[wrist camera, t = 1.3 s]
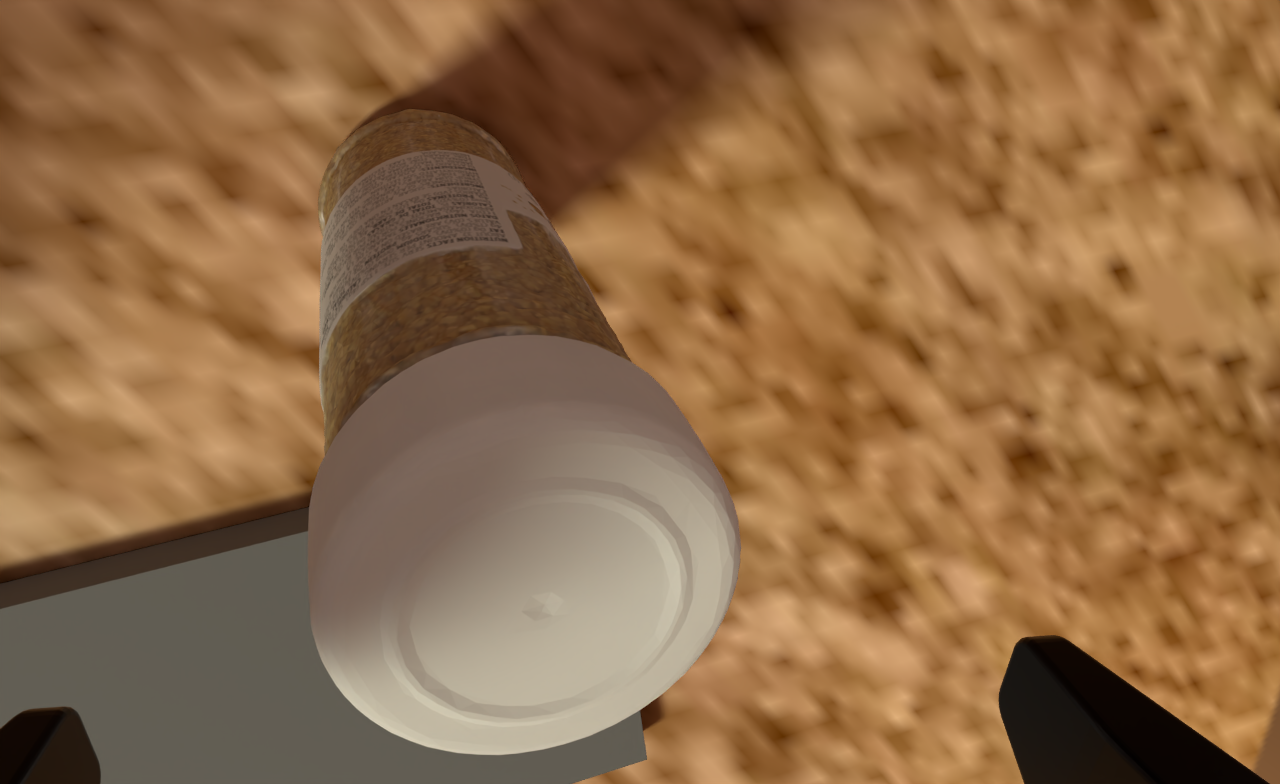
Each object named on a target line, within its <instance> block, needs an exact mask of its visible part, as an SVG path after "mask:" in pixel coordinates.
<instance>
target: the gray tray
mask: <svg viewBox="0 0 1280 784" xmlns="http://www.w3.org/2000/svg"><path fill="white" fill-rule="evenodd" d="M308 524H309V507H307V508H303V509H299V510H295V511H291V512H287V513H283V514H279V515H275V516H271V517H267V518H263V519H259V520H255V521H251V522H247V523H243V524H239V525H235V526H231V527H227V528H223V529H219V530H215V531H211V532H207V533H203V534H199V535H195V536H191V537H187V538H183V539H179V540H175V541H171V542H167V543H163V544H158V545H154V546H150V547H146V548H142V549H138V550H134V551H130V552H126V553H122V554H118V555H114V556H110V557H106V558H102V559H98V560H94V561H90V562H86V563H82V564H78V565H74V566H70V567H66V568H62V569H58V570H54V571H50V572H46V573H42V574H38V575H34V576H30V577H26V578H22V579H18V580H14V581H10V582H6V583H2V584H0V728H1V727H2V726H4V725H5V724H6V723H7V722H8V721H9V720H10V719H12V718H13V717H14V716H16V715H17V714H19V713H21V712H22V711H25V710H28V709H35V708H49V707H63V706H66V707H71V708H73V709H74V710H76V711H77V712H78V714H79V715H80V717H81V720H82V722H83V724H84V727H85V729H86V732H87V734H88V736H89V739H90V741H91V744H92V746H93V748H94V751H95V753H96V755H97V758H98V760H99V764H100V769H101V783H100V784H572V783H575V782H579V781H582V780H585V779H588V778H591V777H594V776H597V775H600V774H603V773H606V772H609V771H613V770H616V769H619V768H622V767H625V766H628V765H631V764H634V763H637V762H640V761H644V760H647V756H646V749H645V742H644V735H643V728H642V721H641V715H640V710H639V711H638V712H636V713H634V714H633V715H631V716H629V717H627V718H626V719H624V720H622V721H620V722H619V723H617V724H615V725H613V726H611V727H608V728H606V729H604V730H602V731H600V732H597V733H595V734H593V735H591V736H588V737H585V738H582V739H579V740H576V741H573V742H570V743H567V744H563V745H559V746H555V747H551V748H547V749H543V750H536V751H530V752H524V753H517V754H505V755H477V754H464V753H455V752H450V751H445V750H440V749H435V748H430V747H426V746H423V745H420V744H417V743H415V742H412V741H409V740H407V739H404V738H402V737H400V736H397V735H395V734H393V733H391V732H389V731H387V730H386V729H384V728H383V727H381V726H379V725H378V724H376V723H375V722H373V721H371V720H370V719H369V718H368V717H366V716H365V715H364V714H363V713H361V712H360V711H359V710H358V709H356V708H355V707H354V706H353V705H352V703H351V702H350V701H349V700H348V699H347V698H346V697H345V696H344V695H343V694H342V692H341V691H340V690H339V689H338V687H337V686H336V684H335V683H334V681H333V680H332V678H331V676H330V675H329V673H328V671H327V670H326V668H325V666H324V664H323V662H322V660H321V657H320V655H319V652H318V649H317V647H316V643H315V639H314V636H313V632H312V629H311V618H310V603H309V586H308Z"/></svg>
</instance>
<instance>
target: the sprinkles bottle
mask: <svg viewBox="0 0 1280 784" xmlns="http://www.w3.org/2000/svg"><path fill="white" fill-rule="evenodd" d="M318 215H319V223H320V229H321V232H322V235H323V240H322V247H321V280H320V354H319V379H320V396H321V405H322V408H323V412H324V425H325V431H324V436H325V445H324V450H325V457H324V459H323V461H322V463H321V465H320V467H319V470H318V473H317V477H316V480H315V483H314V486H313V489H312V495H311V501H310V506H309V524H308V586H309V603H310V618H311V629H312V632H313V636H314V639H315V643H316V647H317V649H318V652H319V655H320V657H321V660H322V662H323V664H324V666H325V668H326V670H327V671H328V673H329V675H330V676H331V678H332V680H333V681H334V683H335V684H336V686H337V687H338V689H339V690H340V691H341V692H342V694H343V695H344V696H345V697H346V698H347V699H348V700H349V701H350V702H351V703H352V705H353V706H354V707H355V708H356V709H358V710H359V711H360V712H361V713H363V714H364V715H365V716H366V717H368V718H369V719H370V720H371V721H373V722H375V723H376V724H378V725H379V726H381V727H383V728H384V729H386V730H387V731H389V732H391V733H393V734H395V735H397V736H400V737H402V738H404V739H407V740H409V741H412V742H415V743H417V744H420V745H423V746H426V747H430V748H435V749H440V750H445V751H450V752H455V753H464V754H477V755H505V754H517V753H524V752H530V751H536V750H543V749H547V748H551V747H555V746H559V745H563V744H567V743H570V742H573V741H576V740H579V739H582V738H585V737H588V736H591V735H593V734H595V733H597V732H600V731H602V730H604V729H606V728H608V727H611V726H613V725H615V724H617V723H619V722H620V721H622V720H624V719H626V718H627V717H629V716H631V715H633V714H634V713H636V712H638V711H639V710H641V709H642V708H644V707H645V706H647V705H648V704H649V703H651V702H652V701H653V700H655V699H656V698H658V697H659V696H660V695H662V694H663V693H664V692H665V691H666V690H667V689H669V688H670V687H671V686H672V685H673V684H674V683H675V682H676V681H677V680H678V679H679V678H681V677H682V676H683V675H684V674H685V673H686V672H687V671H688V670H689V668H690V667H691V666H692V665H693V664H694V662H695V661H696V660H697V659H698V658H699V657H700V655H701V654H702V652H703V651H704V650H705V648H706V647H707V645H708V644H709V643H710V641H711V640H712V638H713V637H714V635H715V633H716V632H717V630H718V628H719V626H720V624H721V622H722V620H723V618H724V616H725V614H726V612H727V610H728V607H729V605H730V602H731V599H732V596H733V593H734V590H735V586H736V583H737V579H738V571H739V565H740V551H741V543H740V534H739V525H738V518H737V514H736V510H735V507H734V503H733V501H732V499H731V496H730V494H729V491H728V489H727V487H726V485H725V482H724V480H723V478H722V476H721V475H720V473H719V471H718V470H717V468H716V466H715V464H714V463H713V461H712V459H711V458H710V456H709V454H708V452H707V451H706V449H705V447H704V446H703V444H702V442H701V440H700V439H699V437H698V436H697V434H696V433H695V431H694V430H693V428H692V427H691V425H690V424H689V422H688V421H687V419H686V418H685V416H684V415H683V414H682V412H681V411H680V409H679V408H678V406H677V405H676V404H675V402H674V401H673V399H672V398H671V397H670V395H669V394H668V393H667V391H666V390H665V389H664V388H663V387H662V386H661V385H660V384H659V383H658V382H657V381H656V380H655V379H654V378H653V377H651V376H650V375H649V374H648V373H647V372H645V371H644V370H642V369H641V368H639V367H638V366H636V365H635V364H633V363H632V362H631V360H630V358H629V357H628V356H627V354H626V352H625V351H624V348H623V346H622V344H621V343H620V342H619V340H618V339H617V336H616V334H615V333H614V331H613V330H612V328H611V327H610V325H609V324H608V322H607V320H606V318H605V316H604V315H603V313H602V311H601V310H600V308H599V306H598V305H597V303H596V301H595V298H594V296H593V294H592V292H591V290H590V288H589V286H588V284H587V283H586V281H585V280H584V278H583V277H582V276H581V274H580V273H579V271H578V269H577V267H576V265H575V263H574V261H573V259H572V257H571V255H570V253H569V252H568V250H567V248H566V246H565V245H564V243H563V242H562V240H561V239H560V237H559V236H558V234H557V232H556V231H555V229H554V227H553V226H552V224H551V222H550V221H549V219H548V218H547V216H546V215H545V213H544V211H543V210H542V208H541V207H540V205H539V204H538V202H537V201H536V199H535V198H534V197H533V195H532V194H531V193H530V192H529V191H528V189H527V188H526V187H525V185H524V182H523V179H522V177H521V175H520V172H519V170H518V168H517V167H516V165H515V163H514V161H513V159H512V158H511V157H510V155H509V154H508V152H507V151H506V149H505V148H504V147H503V146H502V145H501V143H500V142H499V141H498V140H497V139H496V138H494V137H493V136H492V135H491V134H489V133H488V132H486V131H485V130H483V129H482V128H480V127H479V126H477V125H476V124H474V123H472V122H471V121H468V120H465V119H462V118H460V117H457V116H455V115H452V114H448V113H444V112H437V111H433V110H418V109H407V110H404V111H400V112H397V113H394V114H390V115H386V116H382V117H380V118H377V119H375V120H374V121H372V122H370V123H368V124H366V125H364V126H362V127H360V128H358V129H357V130H356V131H355V132H354V133H353V134H352V135H351V136H350V137H349V138H347V139H346V140H345V141H344V142H343V143H342V144H341V145H340V146H339V147H338V148H337V150H336V152H335V154H334V156H333V158H332V160H331V161H330V163H329V165H328V167H327V169H326V171H325V173H324V176H323V179H322V183H321V187H320V191H319V197H318Z"/></svg>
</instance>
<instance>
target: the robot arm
mask: <svg viewBox="0 0 1280 784" xmlns="http://www.w3.org/2000/svg"><path fill="white" fill-rule="evenodd" d="M999 708H1000V713H1001V717H1002V720H1003V723H1004V726H1005V729H1006V732H1007V735H1008V738H1009V740H1010V743H1011V746H1012V749H1013V752H1014V755H1015V758H1016V761H1017V764H1018V767H1019V770H1020V773H1021V775H1022V778H1023V781H1024V784H1269V783H1268V782H1267V781H1265V780H1264V779H1262V778H1261V777H1259V776H1258V775H1257V774H1255V773H1254V772H1253V771H1251V770H1250V769H1248V768H1247V767H1245V766H1244V765H1243V764H1241V763H1240V762H1238V761H1237V760H1236V759H1234V758H1233V757H1231V756H1230V755H1229V754H1227V753H1226V752H1224V751H1223V750H1222V749H1220V748H1219V747H1217V746H1216V745H1215V744H1213V743H1212V742H1210V741H1209V740H1208V739H1206V738H1205V737H1203V736H1202V735H1201V734H1199V733H1198V732H1196V731H1195V730H1193V729H1192V728H1191V727H1189V726H1188V725H1186V724H1185V723H1184V722H1182V721H1181V720H1179V719H1178V718H1177V717H1175V716H1174V715H1172V714H1171V713H1170V712H1168V711H1167V710H1165V709H1164V708H1163V707H1161V706H1160V705H1158V704H1157V703H1156V702H1154V701H1153V700H1151V699H1150V698H1149V697H1147V696H1146V695H1144V694H1143V693H1141V692H1140V691H1139V690H1137V689H1136V688H1134V687H1133V686H1132V685H1130V684H1129V683H1127V682H1126V681H1125V680H1123V679H1122V678H1120V677H1119V676H1118V675H1116V674H1115V673H1113V672H1112V671H1111V670H1109V669H1108V668H1106V667H1105V666H1104V665H1102V664H1101V663H1099V662H1098V661H1097V660H1095V659H1094V658H1092V657H1091V656H1090V655H1088V654H1087V653H1085V652H1084V651H1082V650H1081V649H1080V648H1078V647H1077V646H1075V645H1074V644H1073V643H1071V642H1070V641H1068V640H1067V639H1065V638H1063V637H1060V636H1056V635H1048V636H1034V637H1025V638H1022V639H1020V640H1019V641H1018V642H1017V643H1016V645H1015V647H1014V650H1013V653H1012V656H1011V658H1010V661H1009V664H1008V667H1007V670H1006V673H1005V676H1004V679H1003V682H1002V685H1001V688H1000V692H999ZM100 783H101V769H100V764H99V760H98V758H97V755H96V753H95V751H94V748H93V746H92V744H91V741H90V739H89V736H88V734H87V732H86V729H85V727H84V724H83V722H82V720H81V717H80V715H79V714H78V712H77V711H76V710H74V709H73V708H71V707H66V706H63V707H49V708H35V709H28V710H25V711H22V712H21V713H19V714H17V715H16V716H14V717H13V718H12V719H10V720H9V721H8V722H7V723H6V724H5V725H4V726H2V727H1V728H0V784H100Z"/></svg>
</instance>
